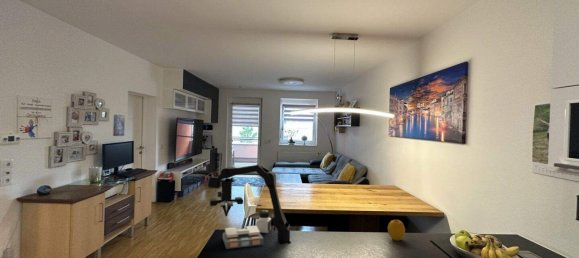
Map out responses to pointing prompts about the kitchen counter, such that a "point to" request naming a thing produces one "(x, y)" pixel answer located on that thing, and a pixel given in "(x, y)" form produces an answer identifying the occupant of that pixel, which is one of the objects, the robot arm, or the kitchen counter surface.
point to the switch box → (242, 241)
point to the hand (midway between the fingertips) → (226, 216)
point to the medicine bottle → (264, 222)
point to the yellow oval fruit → (396, 230)
